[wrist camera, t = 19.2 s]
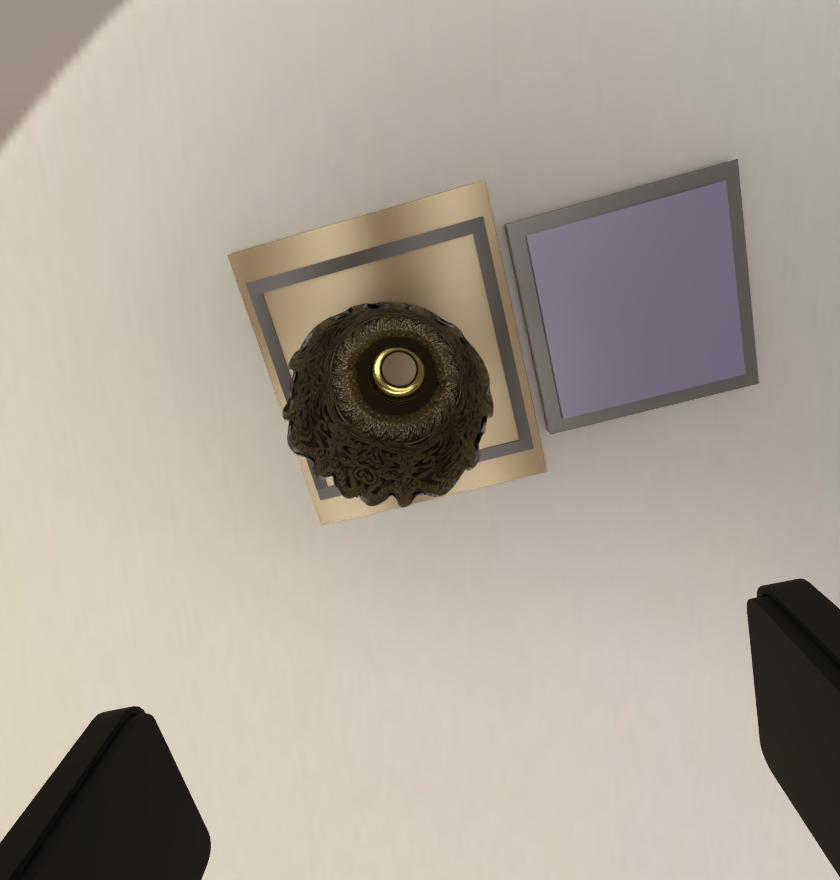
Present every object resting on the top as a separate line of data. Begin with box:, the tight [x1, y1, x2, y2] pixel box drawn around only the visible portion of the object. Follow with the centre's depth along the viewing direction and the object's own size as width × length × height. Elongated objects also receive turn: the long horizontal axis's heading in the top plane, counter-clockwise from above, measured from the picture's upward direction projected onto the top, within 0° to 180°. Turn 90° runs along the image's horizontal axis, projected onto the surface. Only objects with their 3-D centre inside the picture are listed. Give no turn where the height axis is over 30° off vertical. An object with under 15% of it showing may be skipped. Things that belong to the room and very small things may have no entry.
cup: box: [283, 302, 494, 508], centre depth 24 cm, size 8×7×8 cm
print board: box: [228, 180, 547, 525], centre depth 28 cm, size 12×14×1 cm
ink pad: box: [505, 159, 759, 434], centre depth 26 cm, size 10×10×1 cm
